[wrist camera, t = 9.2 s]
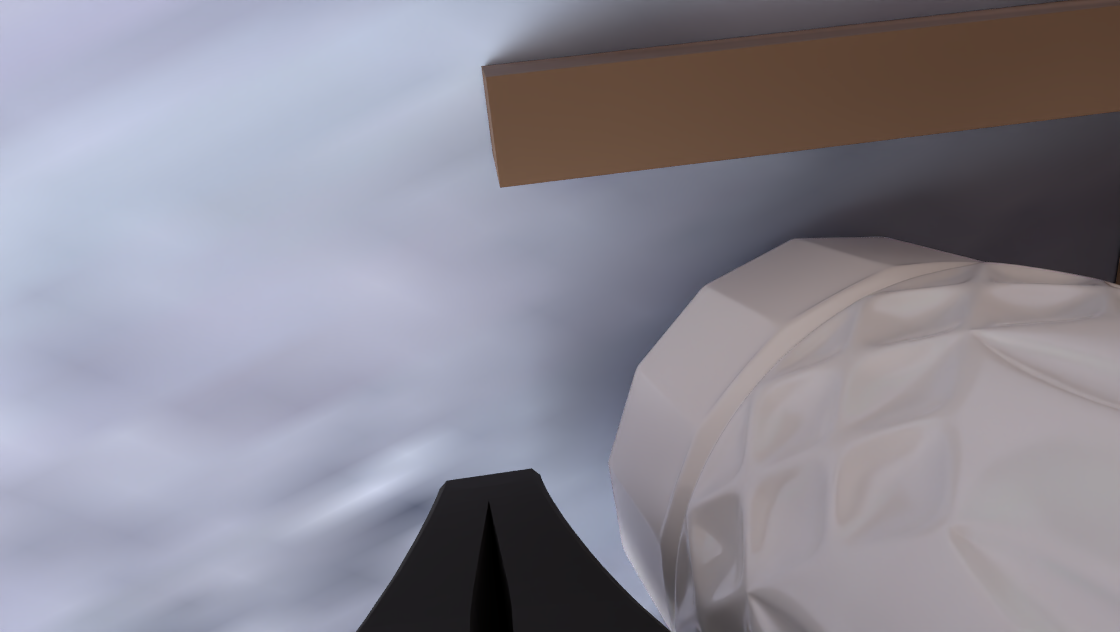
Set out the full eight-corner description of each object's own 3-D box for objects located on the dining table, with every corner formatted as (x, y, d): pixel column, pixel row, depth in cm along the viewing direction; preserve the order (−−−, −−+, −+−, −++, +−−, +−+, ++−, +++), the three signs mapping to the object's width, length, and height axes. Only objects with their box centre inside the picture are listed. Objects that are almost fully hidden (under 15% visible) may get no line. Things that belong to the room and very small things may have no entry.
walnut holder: (1099, 706, 17) (1284, 903, 13) (577, 800, 16) (612, 1039, 12) (1266, -160, 11) (1683, -257, 7) (462, -79, 10) (461, -143, 6)
